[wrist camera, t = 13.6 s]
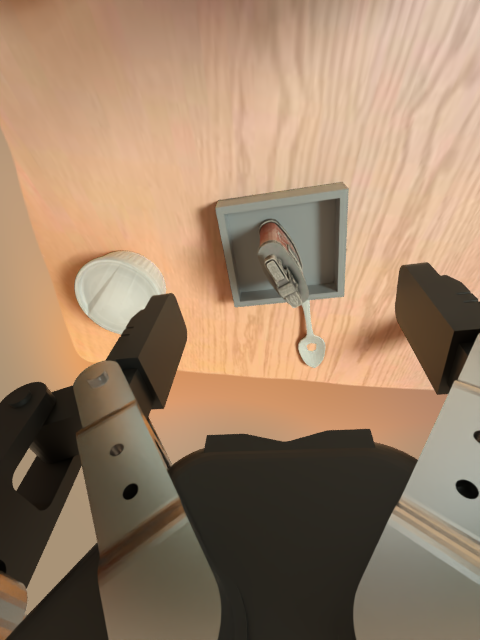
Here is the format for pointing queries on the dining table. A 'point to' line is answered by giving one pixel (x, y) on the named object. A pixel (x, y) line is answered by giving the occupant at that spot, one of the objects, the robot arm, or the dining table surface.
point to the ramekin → (117, 288)
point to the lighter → (282, 262)
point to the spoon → (317, 355)
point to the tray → (303, 227)
